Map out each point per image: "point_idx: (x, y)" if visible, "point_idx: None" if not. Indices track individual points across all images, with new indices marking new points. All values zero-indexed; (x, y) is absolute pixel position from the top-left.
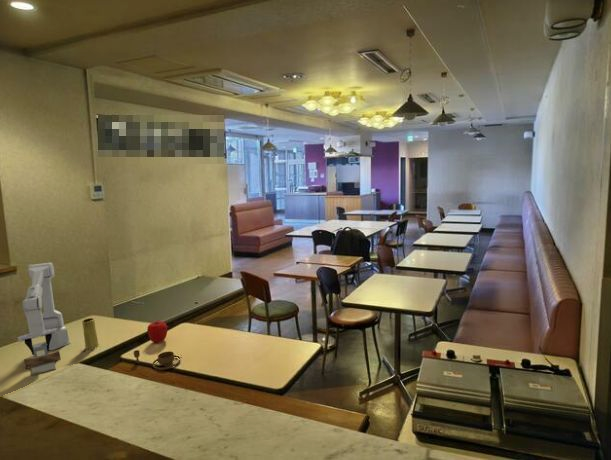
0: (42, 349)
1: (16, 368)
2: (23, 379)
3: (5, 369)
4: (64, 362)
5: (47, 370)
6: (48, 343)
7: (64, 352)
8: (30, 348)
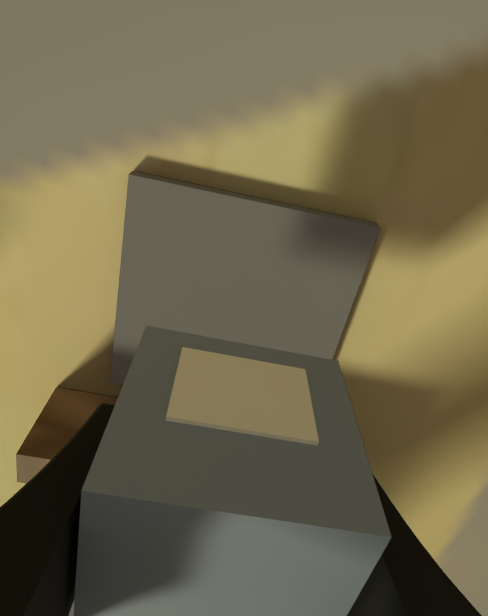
0: (196, 436)
1: (398, 490)
2: (468, 210)
3: (456, 529)
4: (25, 284)
5: (218, 192)
6: (10, 528)
7: (14, 491)
8: (428, 570)
